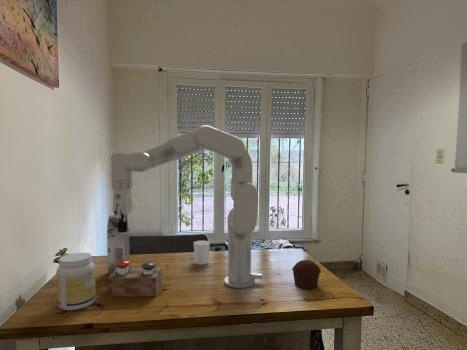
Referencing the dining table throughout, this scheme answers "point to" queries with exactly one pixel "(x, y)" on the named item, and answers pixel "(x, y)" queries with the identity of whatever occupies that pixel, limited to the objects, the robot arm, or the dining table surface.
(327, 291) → the dining table surface
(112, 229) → the juice carton
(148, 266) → the grey capped peg
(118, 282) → the wooden slotted frame
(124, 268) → the red plug
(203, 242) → the white cup
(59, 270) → the supplement tub
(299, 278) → the muffin
